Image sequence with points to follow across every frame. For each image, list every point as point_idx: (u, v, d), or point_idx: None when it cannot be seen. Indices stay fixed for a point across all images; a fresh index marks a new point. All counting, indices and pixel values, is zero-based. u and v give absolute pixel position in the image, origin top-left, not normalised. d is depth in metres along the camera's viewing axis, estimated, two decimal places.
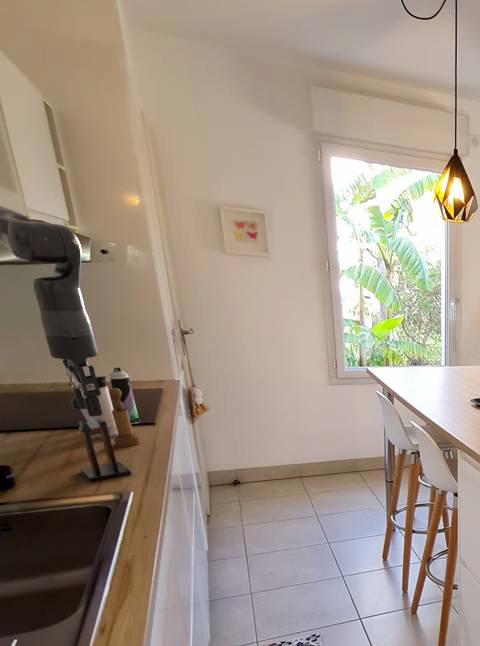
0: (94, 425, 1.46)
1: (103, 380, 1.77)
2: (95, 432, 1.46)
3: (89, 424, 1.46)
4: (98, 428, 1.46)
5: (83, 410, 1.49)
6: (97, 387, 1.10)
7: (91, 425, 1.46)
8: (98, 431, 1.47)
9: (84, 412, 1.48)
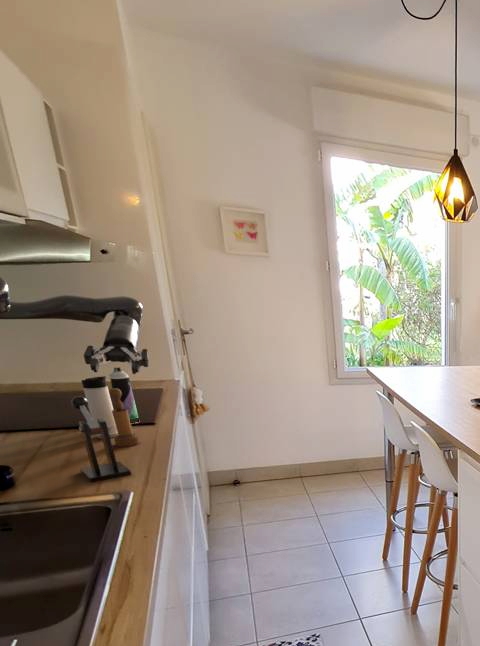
0: (94, 425, 1.46)
1: (103, 380, 1.77)
2: (95, 432, 1.46)
3: (89, 424, 1.46)
4: (98, 428, 1.46)
5: (83, 410, 1.49)
6: (148, 363, 1.57)
7: (91, 425, 1.46)
8: (98, 431, 1.47)
9: (84, 412, 1.48)
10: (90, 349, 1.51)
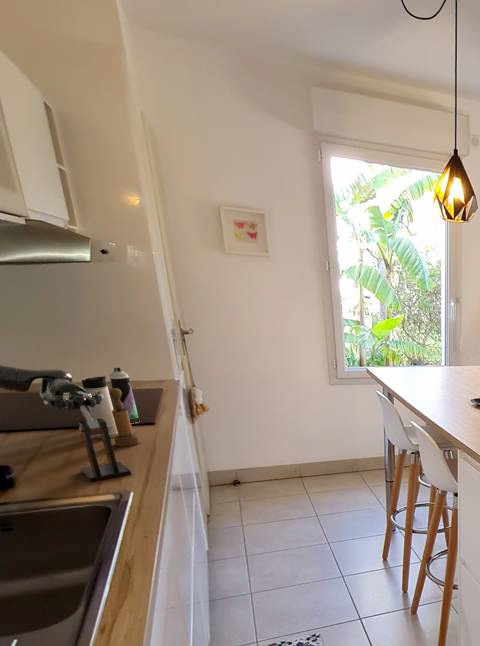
0: (94, 425, 1.46)
1: (103, 380, 1.77)
2: (95, 432, 1.46)
3: (89, 424, 1.46)
4: (98, 428, 1.46)
5: (83, 410, 1.49)
6: (101, 401, 1.57)
7: (91, 425, 1.46)
8: (98, 431, 1.47)
9: (84, 412, 1.48)
10: (50, 397, 1.50)
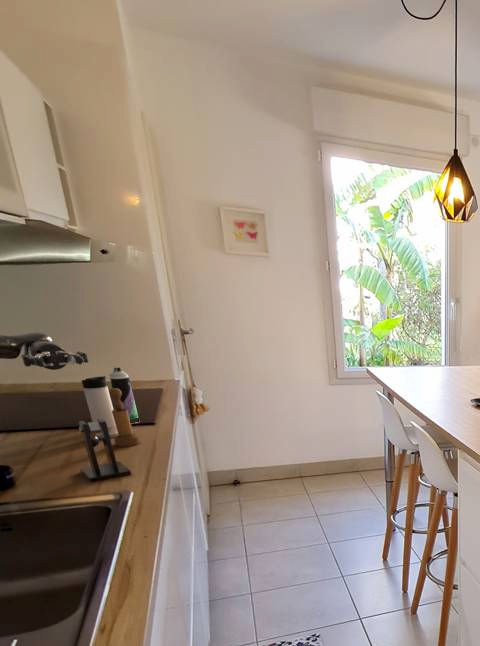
0: None
1: (103, 380, 1.77)
2: (94, 427, 1.46)
3: None
4: (96, 422, 1.46)
5: None
6: None
7: None
8: (97, 426, 1.46)
9: None
10: (25, 355, 1.54)
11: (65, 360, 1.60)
